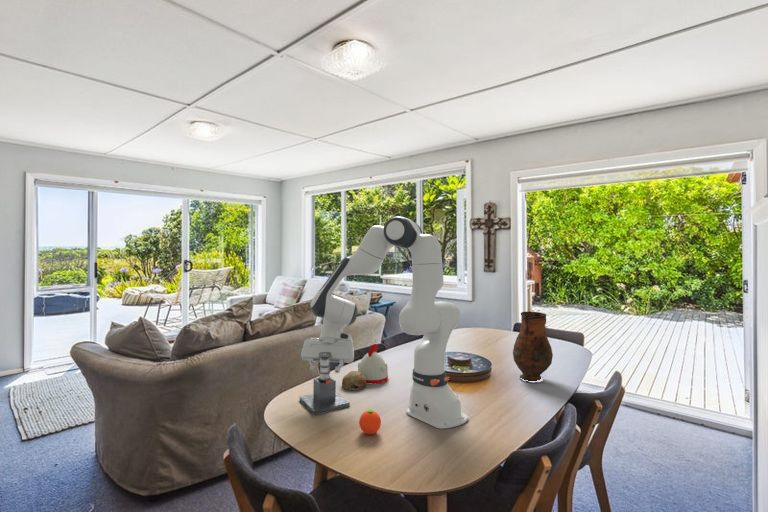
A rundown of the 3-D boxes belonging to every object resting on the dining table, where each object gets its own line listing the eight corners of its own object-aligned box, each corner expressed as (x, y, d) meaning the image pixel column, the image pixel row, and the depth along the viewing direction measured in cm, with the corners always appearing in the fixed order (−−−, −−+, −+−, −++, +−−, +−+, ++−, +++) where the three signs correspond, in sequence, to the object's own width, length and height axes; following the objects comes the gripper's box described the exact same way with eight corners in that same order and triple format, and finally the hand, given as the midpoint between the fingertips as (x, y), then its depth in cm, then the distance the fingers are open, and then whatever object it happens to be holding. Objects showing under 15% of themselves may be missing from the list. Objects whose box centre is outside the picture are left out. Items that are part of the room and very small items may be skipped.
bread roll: (343, 398, 156) (344, 384, 152) (339, 379, 164) (341, 365, 161) (366, 396, 158) (368, 382, 155) (362, 378, 167) (364, 364, 164)
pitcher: (505, 379, 171) (507, 312, 170) (525, 368, 186) (527, 307, 185) (542, 389, 160) (544, 318, 158) (560, 377, 175) (563, 312, 174)
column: (332, 399, 141) (333, 354, 140) (321, 402, 139) (321, 356, 138) (327, 395, 145) (328, 351, 144) (316, 397, 142) (316, 352, 142)
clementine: (358, 426, 125) (359, 404, 125) (380, 425, 125) (380, 404, 125) (359, 438, 117) (359, 416, 117) (381, 438, 117) (381, 415, 117)
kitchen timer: (392, 375, 173) (393, 343, 172) (380, 386, 160) (380, 350, 160) (365, 371, 178) (366, 339, 178) (351, 380, 166) (351, 346, 165)
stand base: (349, 406, 140) (350, 380, 139) (313, 415, 132) (314, 387, 132) (333, 393, 151) (333, 369, 151) (299, 400, 144) (300, 375, 144)
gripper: (303, 333, 149) (295, 366, 140) (355, 335, 147) (350, 368, 138) (306, 341, 154) (298, 374, 144) (356, 343, 152) (352, 376, 143)
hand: (324, 371), depth 141 cm, fingers open, 8 cm apart
